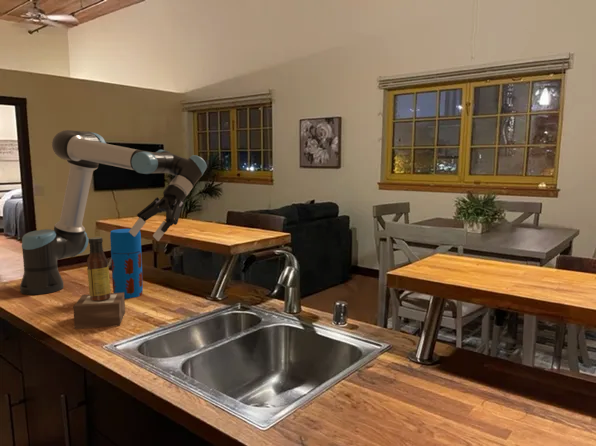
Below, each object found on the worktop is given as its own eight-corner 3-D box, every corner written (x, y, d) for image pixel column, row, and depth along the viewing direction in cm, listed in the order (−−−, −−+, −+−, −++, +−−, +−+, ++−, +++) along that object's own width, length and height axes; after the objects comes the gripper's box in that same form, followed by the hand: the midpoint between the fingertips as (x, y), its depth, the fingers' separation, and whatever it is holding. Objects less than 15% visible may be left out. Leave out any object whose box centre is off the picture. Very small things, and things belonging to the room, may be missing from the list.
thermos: (147, 291, 180) (145, 228, 177) (135, 299, 169) (132, 233, 166) (121, 290, 181) (118, 228, 178) (107, 298, 170) (104, 232, 167)
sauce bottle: (115, 297, 148) (112, 236, 145) (101, 302, 142) (98, 239, 139) (98, 295, 150) (95, 235, 147) (84, 300, 144) (81, 238, 141)
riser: (83, 315, 151) (82, 294, 150) (125, 312, 154) (124, 292, 153) (74, 328, 139) (73, 306, 138) (119, 325, 142) (118, 303, 141)
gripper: (206, 199, 161) (173, 247, 151) (162, 195, 176) (129, 239, 166) (194, 185, 156) (159, 233, 146) (150, 182, 171) (115, 226, 161)
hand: (143, 236), depth 156 cm, fingers open, 13 cm apart
